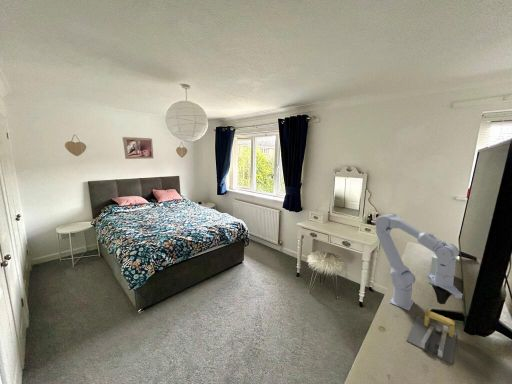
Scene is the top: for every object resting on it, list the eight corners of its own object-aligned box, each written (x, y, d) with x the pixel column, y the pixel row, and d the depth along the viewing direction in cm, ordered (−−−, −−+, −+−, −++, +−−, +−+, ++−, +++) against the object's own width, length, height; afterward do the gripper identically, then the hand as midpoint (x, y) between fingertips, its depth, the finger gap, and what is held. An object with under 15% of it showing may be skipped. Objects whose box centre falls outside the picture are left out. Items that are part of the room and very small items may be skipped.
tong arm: (429, 330, 85) (430, 325, 85) (436, 333, 83) (437, 328, 83) (420, 346, 78) (420, 341, 78) (427, 350, 76) (428, 345, 76)
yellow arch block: (425, 321, 90) (426, 309, 89) (453, 333, 83) (455, 321, 83) (424, 325, 88) (425, 313, 87) (452, 337, 81) (454, 325, 81)
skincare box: (440, 287, 114) (443, 260, 111) (428, 283, 118) (430, 256, 116) (450, 274, 126) (453, 249, 124) (439, 270, 130) (441, 246, 128)
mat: (416, 316, 93) (416, 316, 93) (456, 333, 84) (456, 333, 84) (406, 341, 81) (406, 340, 81) (451, 364, 72) (452, 363, 72)
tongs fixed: (436, 327, 87) (436, 322, 87) (447, 332, 84) (448, 326, 84) (429, 351, 76) (430, 345, 76) (442, 358, 74) (442, 351, 73)
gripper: (421, 264, 94) (418, 292, 96) (450, 283, 79) (446, 315, 81) (437, 264, 93) (434, 292, 95) (469, 283, 79) (465, 315, 81)
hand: (441, 303), depth 88 cm, fingers closed
